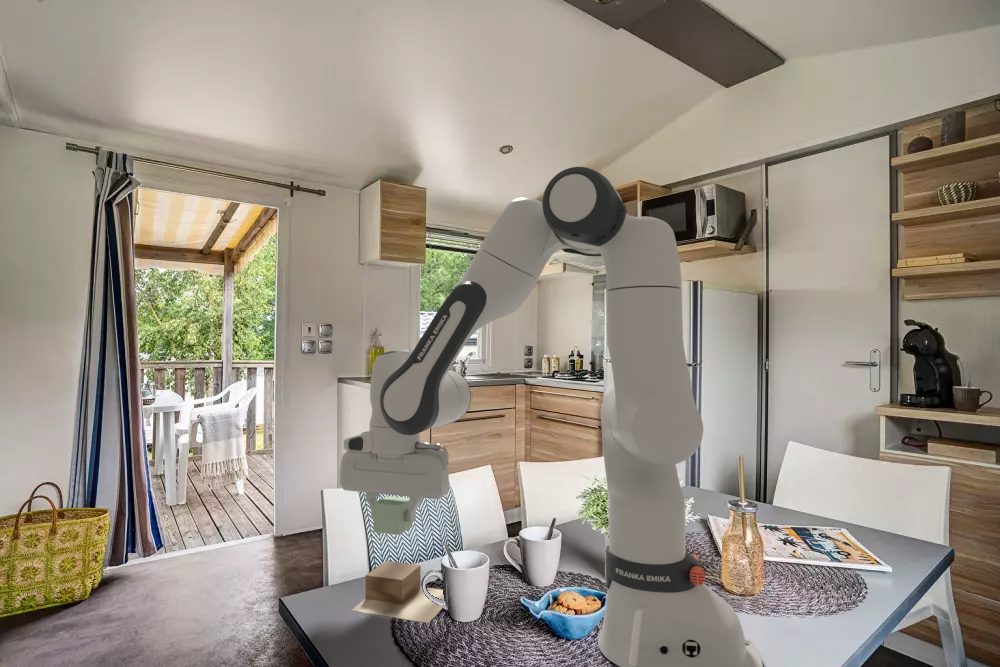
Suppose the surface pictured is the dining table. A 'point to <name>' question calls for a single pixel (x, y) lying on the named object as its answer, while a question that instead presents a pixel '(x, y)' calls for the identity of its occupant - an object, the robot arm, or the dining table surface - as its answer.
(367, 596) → the walnut base
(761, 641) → the dining table surface
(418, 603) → the birch board
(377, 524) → the sage cube
